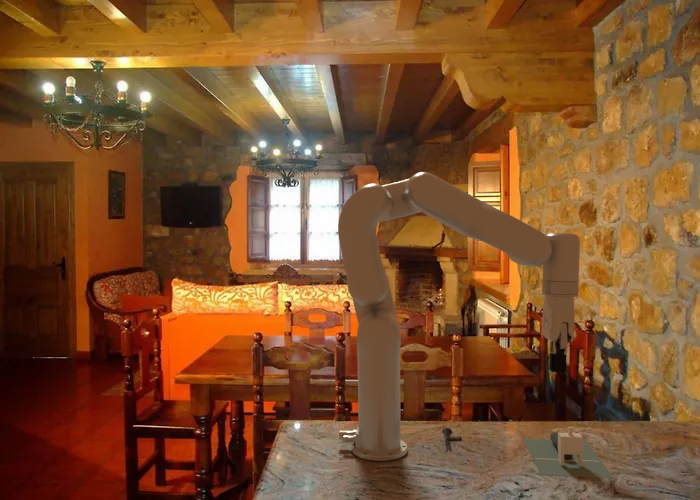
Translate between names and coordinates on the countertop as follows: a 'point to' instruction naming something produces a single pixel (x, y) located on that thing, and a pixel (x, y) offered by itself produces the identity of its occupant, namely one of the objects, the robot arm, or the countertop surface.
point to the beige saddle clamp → (570, 446)
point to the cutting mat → (565, 461)
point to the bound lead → (555, 441)
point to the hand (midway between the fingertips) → (557, 371)
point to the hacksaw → (448, 438)
